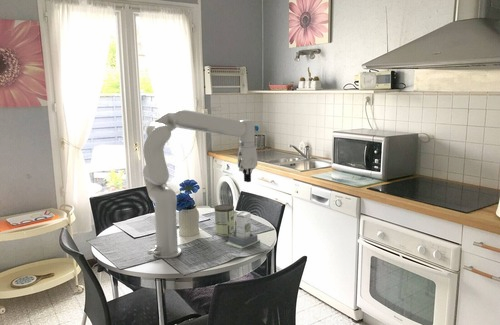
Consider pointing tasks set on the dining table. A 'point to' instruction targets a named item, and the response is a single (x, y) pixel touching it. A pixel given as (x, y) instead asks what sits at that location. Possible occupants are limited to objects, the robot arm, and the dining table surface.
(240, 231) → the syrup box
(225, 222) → the coffee can
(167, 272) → the dining table surface
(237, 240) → the grey square tray
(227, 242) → the board
